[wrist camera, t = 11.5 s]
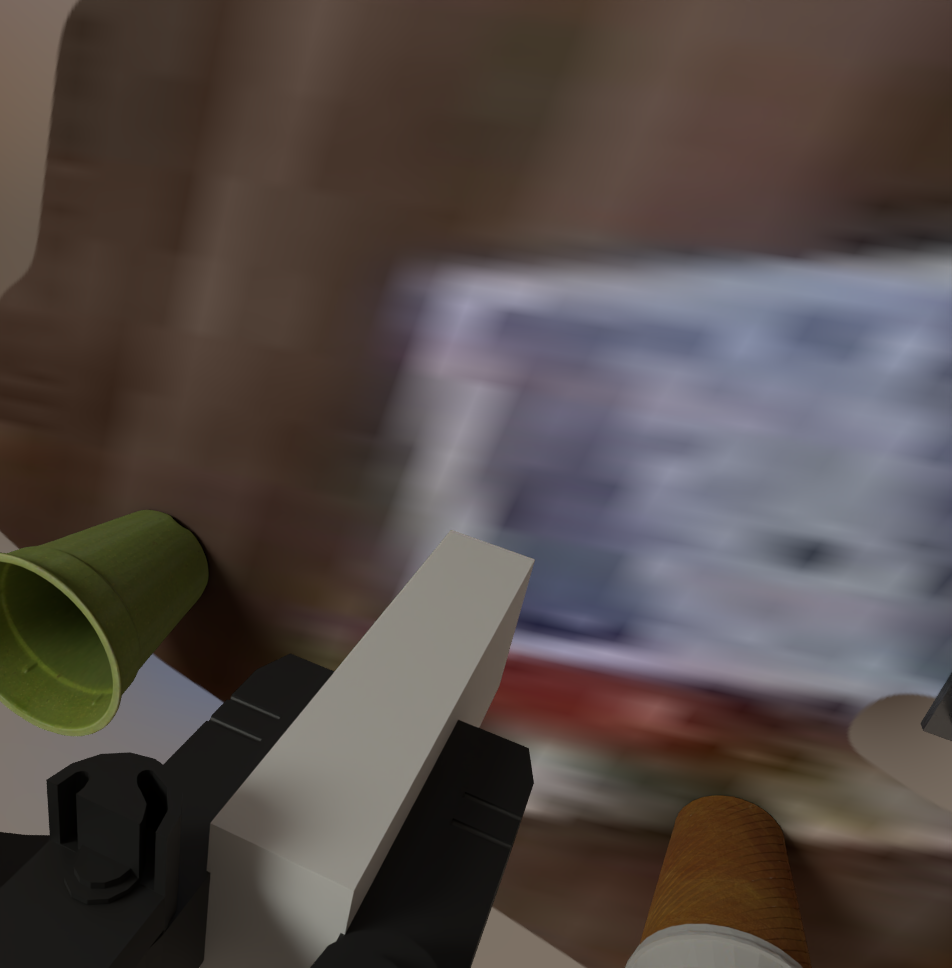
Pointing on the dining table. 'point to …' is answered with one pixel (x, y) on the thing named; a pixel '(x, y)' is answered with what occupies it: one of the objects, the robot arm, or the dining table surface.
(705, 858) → the disposable coffee cup
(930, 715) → the hinge post
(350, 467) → the dining table surface
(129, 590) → the plant pot
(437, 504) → the dining table surface
